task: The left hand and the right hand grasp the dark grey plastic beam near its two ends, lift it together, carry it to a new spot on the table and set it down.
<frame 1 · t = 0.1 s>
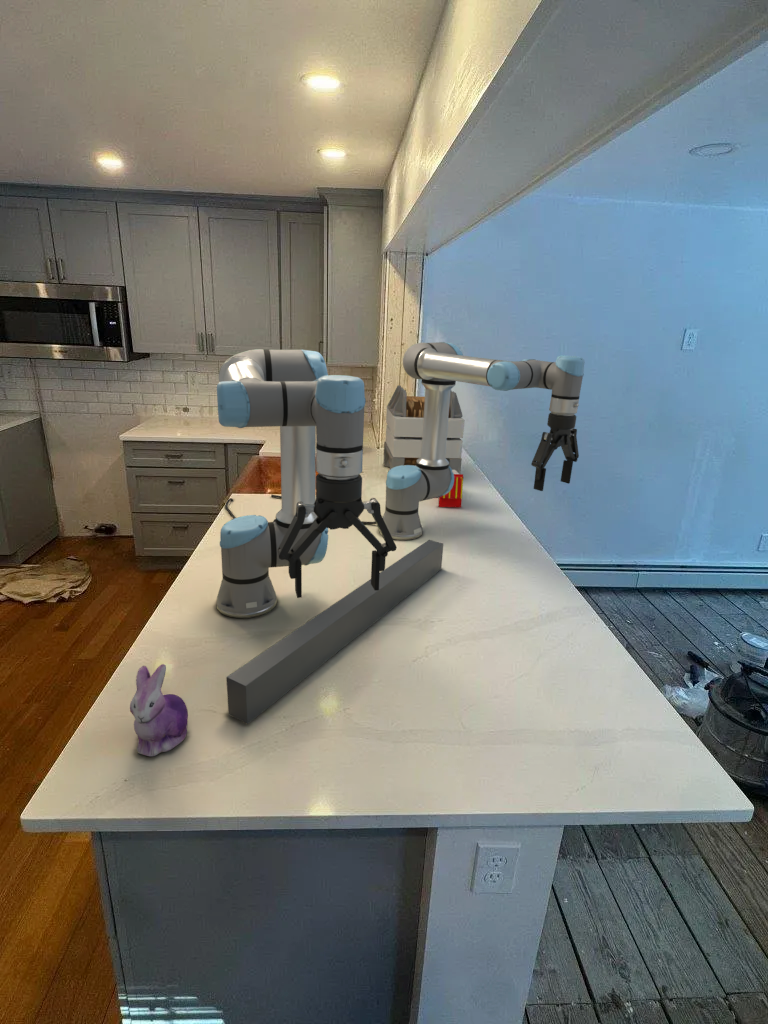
left hand: (337, 590, 99), 28 cm above the counter, tool pointing down, fingers open, 13 cm apart
right hand: (551, 486, 166), 28 cm above the counter, tool pointing down, fingers open, 13 cm apart
toy: (445, 497, 242), on the counter
feather: (280, 515, 212), on the counter
fossil: (348, 450, 313), on the counter
beam: (359, 625, 142), on the counter
grey bottle crate: (419, 473, 275), on the counter
figurine: (163, 740, 102), on the counter
figurine character: (279, 548, 184), on the counter
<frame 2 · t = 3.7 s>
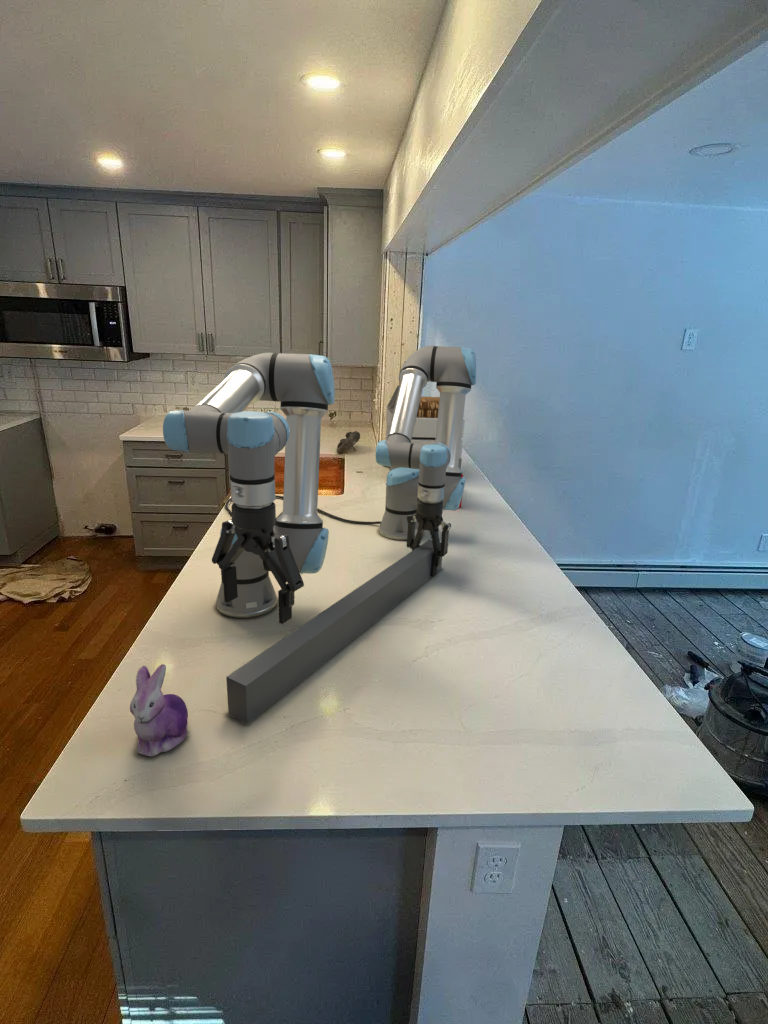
left hand: (257, 609, 106), 21 cm above the counter, tool pointing down, fingers open, 13 cm apart
right hand: (425, 572, 170), 1 cm above the counter, tool pointing down, fingers closed on beam, 5 cm apart
beam: (359, 625, 142), on the counter, touching right hand
everything else where it was.
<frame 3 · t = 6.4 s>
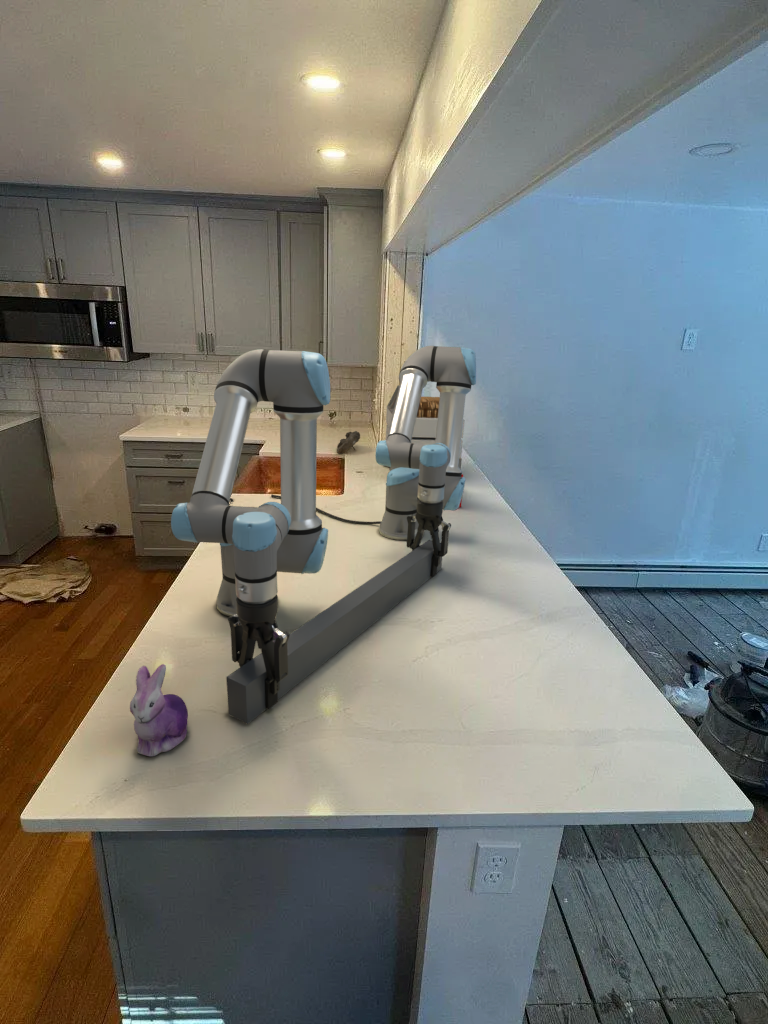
left hand: (260, 699, 113), 1 cm above the counter, tool pointing down, fingers closed on beam, 5 cm apart
right hand: (425, 572, 170), 1 cm above the counter, tool pointing down, fingers closed on beam, 5 cm apart
beam: (359, 625, 142), on the counter, touching right hand, left hand
everything else where it was.
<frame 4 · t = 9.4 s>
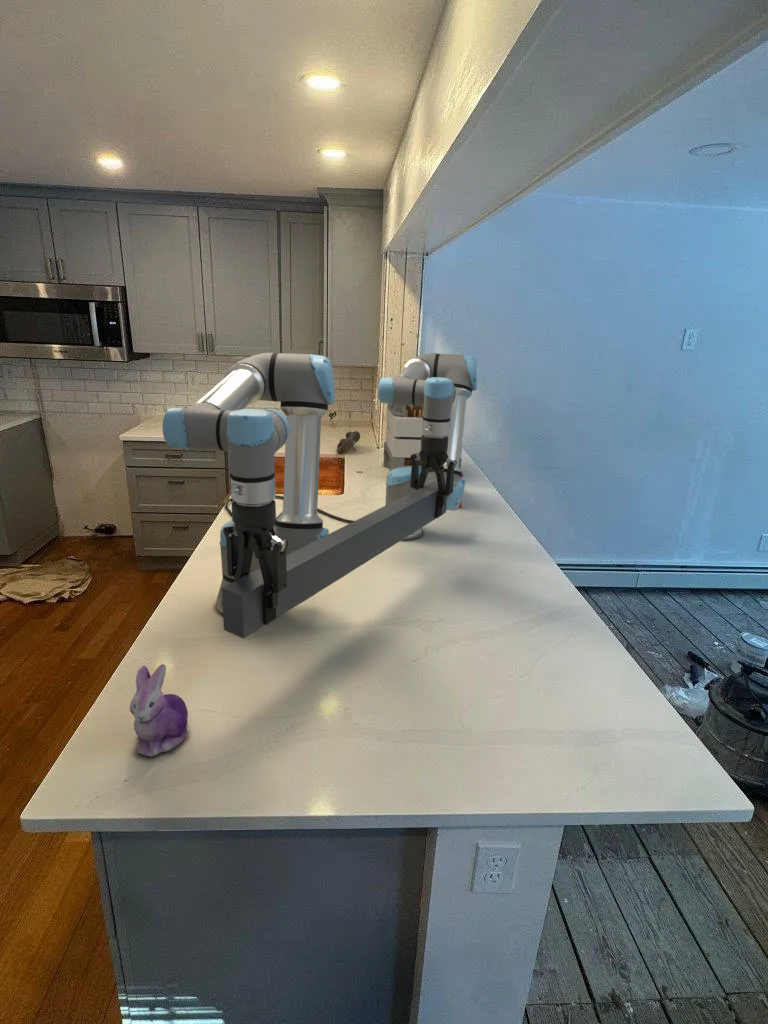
left hand: (258, 616, 107), 19 cm above the counter, tool pointing down, fingers closed on beam, 5 cm apart
right hand: (429, 514, 164), 19 cm above the counter, tool pointing down, fingers closed on beam, 5 cm apart
beam: (361, 557, 136), point 18 cm above the counter, touching right hand, left hand
everything else where it was.
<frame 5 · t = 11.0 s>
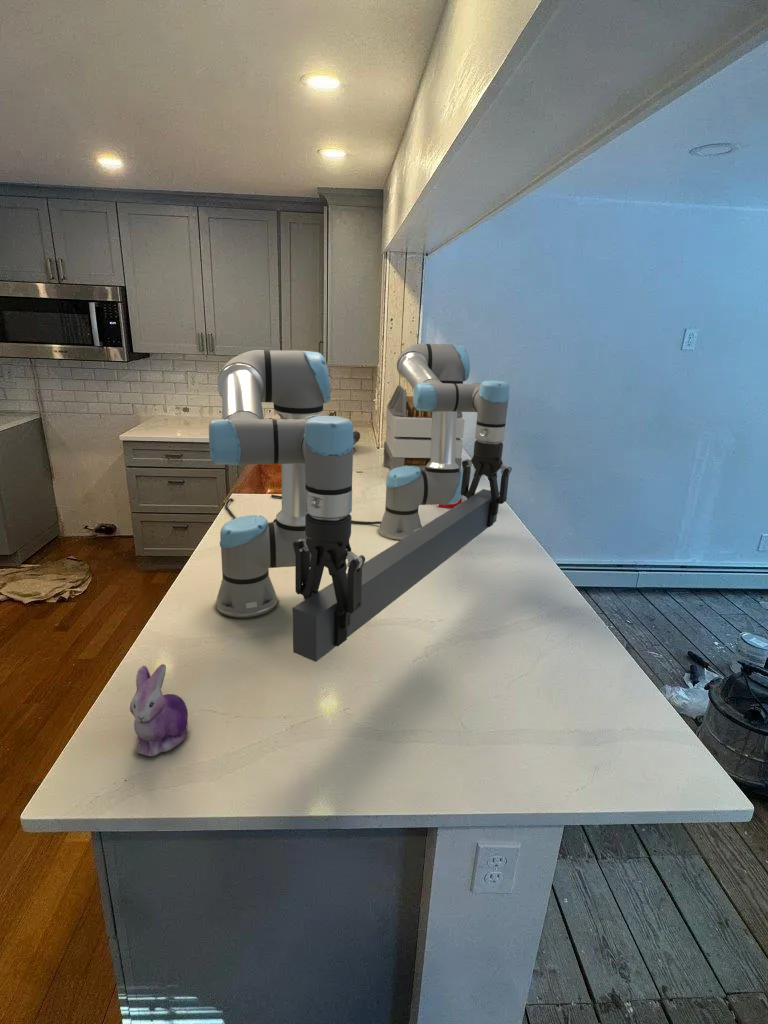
left hand: (327, 636, 100), 20 cm above the counter, tool pointing down, fingers closed on beam, 5 cm apart
right hand: (480, 523, 157), 20 cm above the counter, tool pointing down, fingers closed on beam, 5 cm apart
beam: (420, 570, 129), point 19 cm above the counter, touching right hand, left hand
everything else where it was.
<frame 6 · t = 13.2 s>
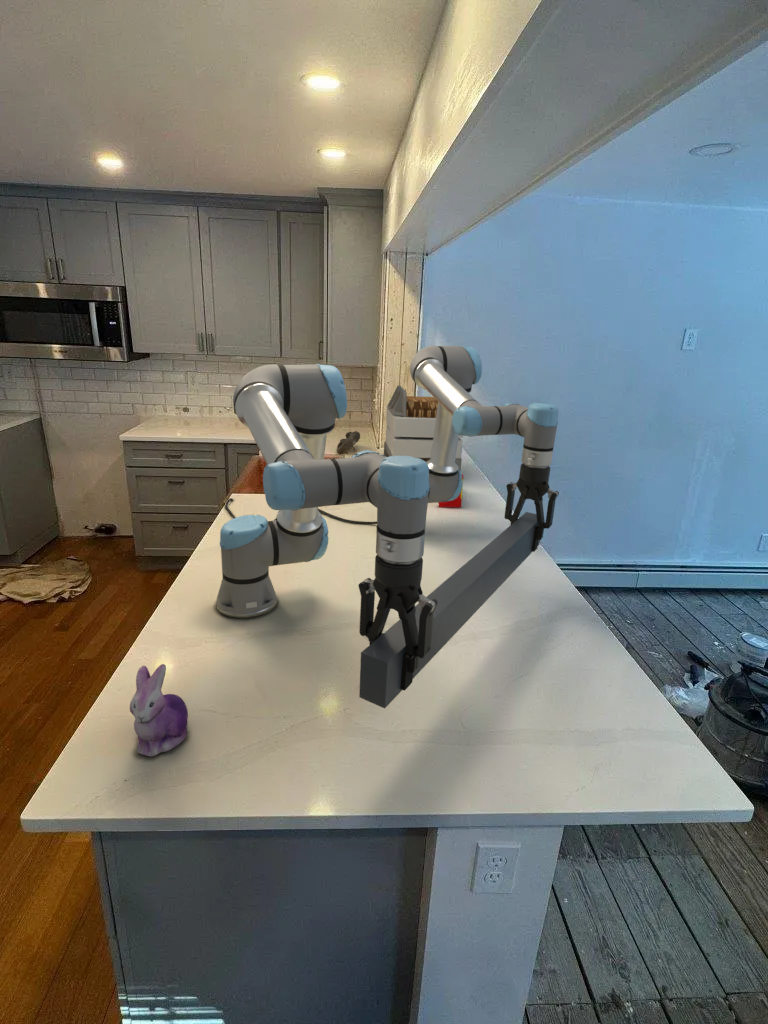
left hand: (392, 679, 97), 15 cm above the counter, tool pointing down, fingers closed on beam, 5 cm apart
right hand: (524, 547, 154), 15 cm above the counter, tool pointing down, fingers closed on beam, 5 cm apart
beam: (472, 601, 126), point 14 cm above the counter, touching right hand, left hand
everything else where it was.
when the left hand's fingers open (1 cm above the counter, at t = 15.4 s): beam stays where it is, on the counter.
when the right hand's fingers open (1 cm above the counter, at t = 15.4 s): beam stays where it is, on the counter.
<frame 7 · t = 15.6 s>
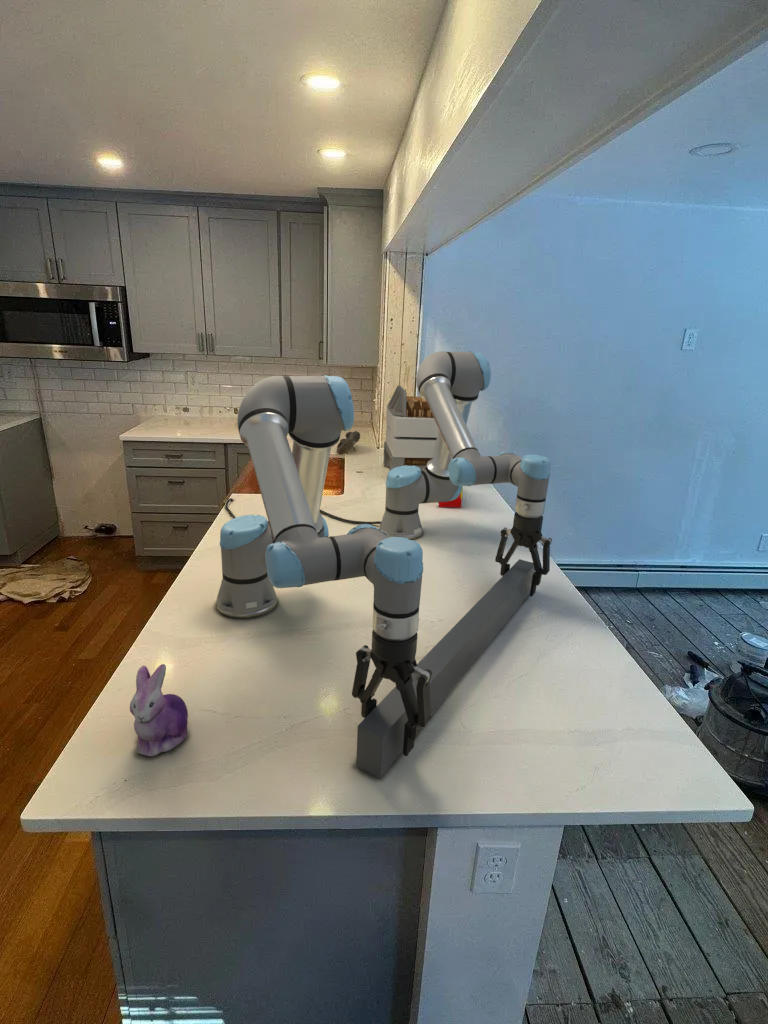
left hand: (388, 741, 101), 2 cm above the counter, tool pointing down, fingers open, 7 cm apart
right hand: (518, 590, 159), 2 cm above the counter, tool pointing down, fingers open, 7 cm apart
beam: (466, 656, 131), on the counter
everything else where it was.
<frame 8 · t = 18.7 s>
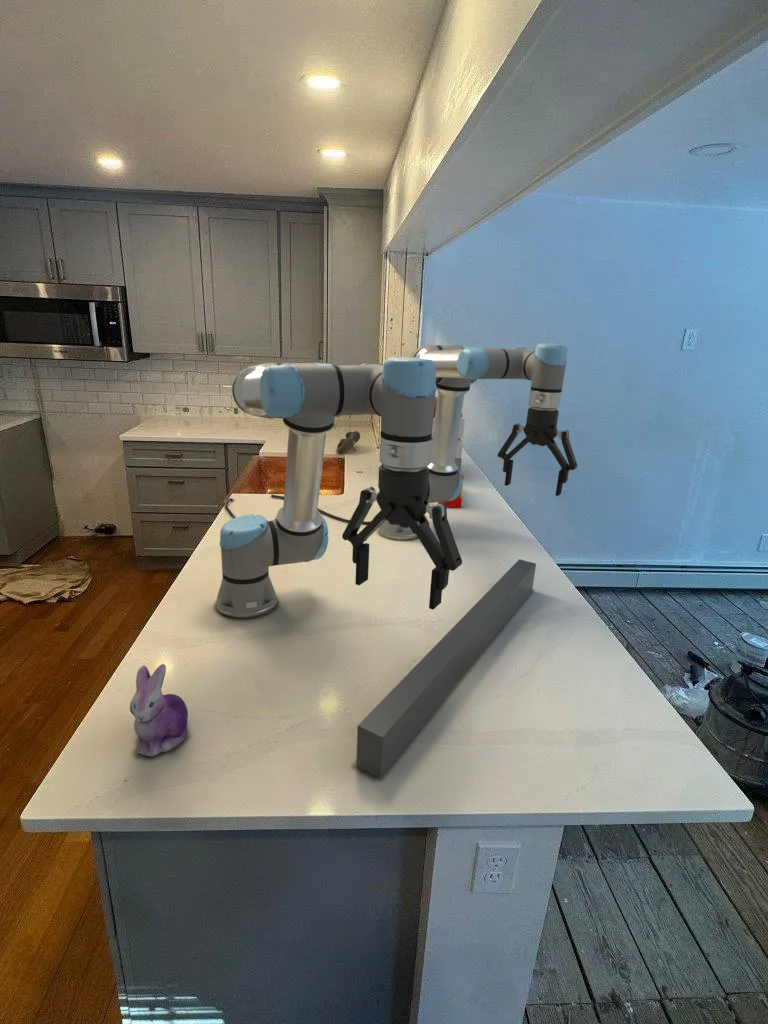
left hand: (397, 593, 91), 32 cm above the counter, tool pointing down, fingers open, 13 cm apart
right hand: (532, 489, 149), 32 cm above the counter, tool pointing down, fingers open, 13 cm apart
nothing on the counter moved.
at the end: beam inside the target area (0.3 cm from its centre), on the counter; beam tilted 0°; beam never tilted more than 1° during the clip; both hands held the beam at the same time; the left hand is holding nothing; the right hand is holding nothing; beam at rest at the end (0.0 cm/s) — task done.
